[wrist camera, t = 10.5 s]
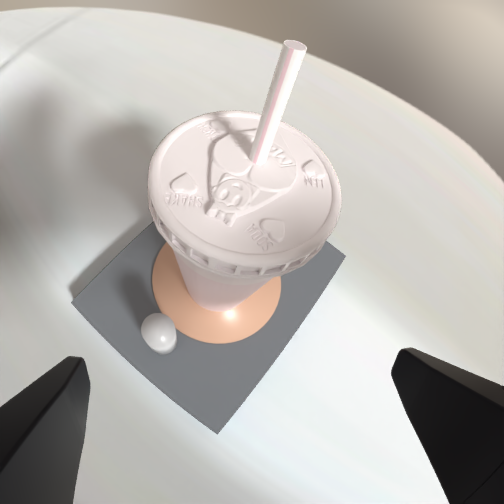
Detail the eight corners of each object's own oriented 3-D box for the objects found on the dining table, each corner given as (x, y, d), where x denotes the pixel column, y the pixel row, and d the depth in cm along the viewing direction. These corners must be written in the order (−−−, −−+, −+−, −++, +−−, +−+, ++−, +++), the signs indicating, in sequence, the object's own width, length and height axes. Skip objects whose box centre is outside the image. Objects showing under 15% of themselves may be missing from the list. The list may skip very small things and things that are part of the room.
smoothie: (287, 261, 20) (417, 71, 7) (244, 355, 17) (410, 226, 4) (196, 215, 20) (227, -8, 7) (141, 300, 17) (68, 75, 4)
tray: (215, 431, 16) (224, 442, 12) (77, 308, 17) (52, 285, 13) (338, 263, 22) (367, 235, 18) (219, 173, 23) (227, 133, 20)
